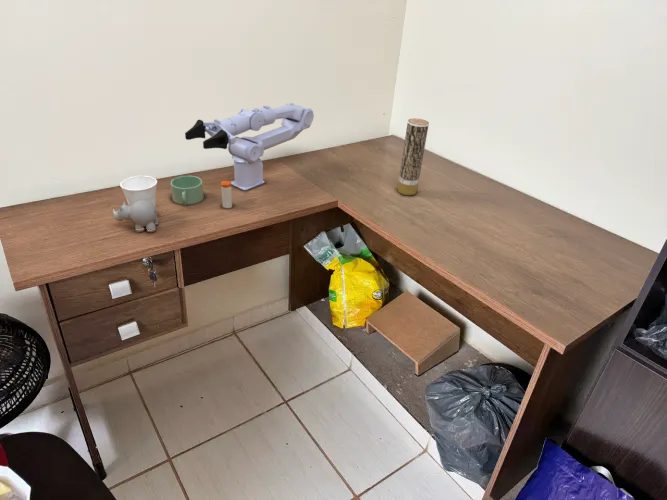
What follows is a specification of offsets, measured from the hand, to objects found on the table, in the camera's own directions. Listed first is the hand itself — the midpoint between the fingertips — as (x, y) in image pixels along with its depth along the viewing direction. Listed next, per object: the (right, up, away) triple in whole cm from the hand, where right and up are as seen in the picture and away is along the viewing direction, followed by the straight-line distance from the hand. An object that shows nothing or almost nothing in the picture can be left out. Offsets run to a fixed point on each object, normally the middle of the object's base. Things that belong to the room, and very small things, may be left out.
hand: (194, 140), depth 140 cm
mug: (-6, -16, +13) cm, 21 cm away
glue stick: (+7, -18, +11) cm, 22 cm away
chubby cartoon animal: (-15, -26, -4) cm, 30 cm away
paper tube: (+66, -12, +28) cm, 73 cm away
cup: (-15, -22, +2) cm, 27 cm away
